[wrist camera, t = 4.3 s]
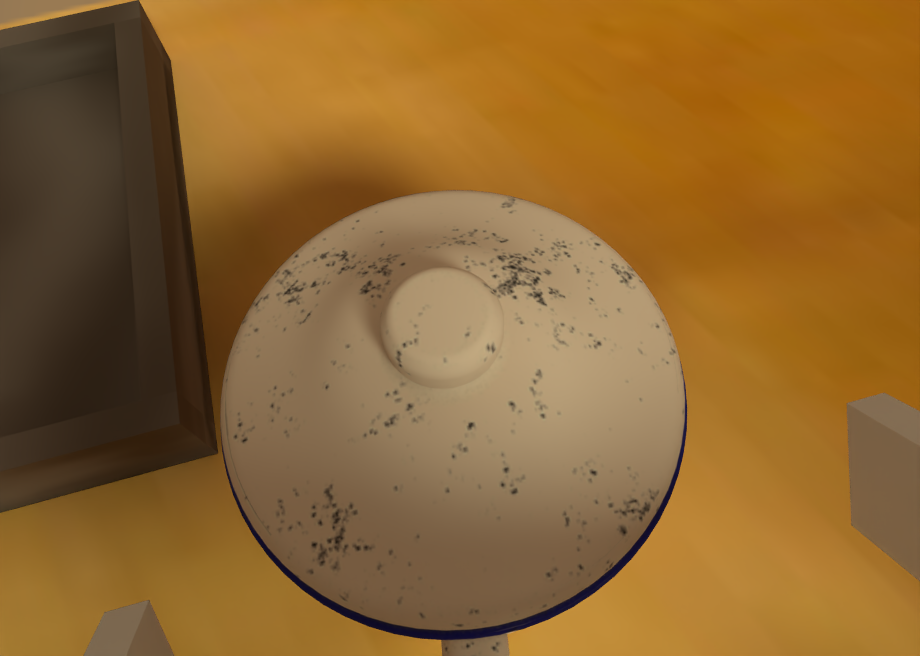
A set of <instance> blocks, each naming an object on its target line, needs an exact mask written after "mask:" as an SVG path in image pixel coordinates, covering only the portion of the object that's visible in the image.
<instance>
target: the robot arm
mask: <svg viewBox="0 0 920 656" xmlns="http://www.w3.org/2000/svg"><path fill="white" fill-rule="evenodd" d="M847 420H848V446H849V473H850V499H851V525H852V526H853V527H855V528H856V529H857V530H858V531H859V532H861V533H862V534H863V535H864V536H865V537H867V538H868V539H869V540H870V541H872V542H873V543H874V544H875V545H876V546H878V547H879V548H880V549H881V550H882V551H884V552H885V553H886V554H887V555H889V556H890V557H891V558H892V559H893V560H895V561H896V562H897V563H898V564H899V565H901V566H902V567H903V568H904V569H906V570H907V571H908V572H909V573H910V574H912V575H913V576H914V577H915V578H916V579H918V580H919V581H920V411H918V410H916V409H914V408H912V407H910V406H908V405H907V404H905V403H903V402H901V401H899V400H897V399H895V398H893V397H891V396H889V395H888V394H886V393H882V394H878V395H875V396H871V397H868V398H864V399H860V400H857V401H853V402H850V403H847ZM84 656H174V654H173V652H172V650H171V647H170V645H169V643H168V641H167V639H166V636H165V634H164V632H163V630H162V628H161V625H160V623H159V621H158V619H157V617H156V614H155V612H154V610H153V608H152V605H151V603H150V601H149V600H147V601H143V602H140V603H136V604H133V605H129V606H126V607H122V608H119V609H115V610H111V611H108V612H105V613H104V615H103V617H102V619H101V621H100V623H99V625H98V627H97V629H96V631H95V633H94V635H93V637H92V639H91V641H90V643H89V646H88V648H87V650H86V652H85V654H84Z"/></svg>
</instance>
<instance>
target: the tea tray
mask: <svg viewBox="0 0 920 656" xmlns="http://www.w3.org/2000/svg"><path fill="white" fill-rule="evenodd" d="M217 453H218V450H217V441H216V433H215V425H214V416H213V408H212V400H211V391H210V383H209V375H208V367H207V358H206V350H205V342H204V333H203V325H202V317H201V308H200V300H199V292H198V284H197V275H196V267H195V259H194V250H193V242H192V234H191V225H190V217H189V209H188V201H187V192H186V184H185V176H184V167H183V159H182V151H181V142H180V134H179V126H178V117H177V109H176V101H175V93H174V84H173V76H172V68H171V60H170V58H169V56H168V54H167V53H166V51H165V49H164V47H163V45H162V43H161V41H160V39H159V38H158V36H157V34H156V32H155V30H154V28H153V26H152V24H151V22H150V21H149V19H148V17H147V15H146V13H145V11H144V9H143V7H142V5H141V4H140V2H139V0H137V1H132V2H128V3H123V4H119V5H114V6H109V7H105V8H100V9H96V10H91V11H86V12H82V13H77V14H73V15H68V16H63V17H59V18H54V19H50V20H45V21H40V22H36V23H31V24H26V25H22V26H17V27H13V28H8V29H3V30H0V513H1V512H4V511H8V510H12V509H15V508H19V507H23V506H26V505H30V504H34V503H37V502H41V501H45V500H48V499H52V498H56V497H59V496H63V495H67V494H70V493H74V492H78V491H81V490H85V489H89V488H92V487H96V486H100V485H103V484H107V483H111V482H114V481H118V480H122V479H125V478H129V477H133V476H136V475H140V474H144V473H147V472H151V471H155V470H158V469H162V468H166V467H169V466H173V465H177V464H180V463H184V462H188V461H191V460H195V459H199V458H202V457H206V456H210V455H213V454H217Z"/></svg>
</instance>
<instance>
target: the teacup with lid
mask: <svg viewBox="0 0 920 656" xmlns="http://www.w3.org/2000/svg"><path fill="white" fill-rule="evenodd" d="M220 423H221V440H222V452H223V457H224V462H225V467H226V473H227V476H228V479H229V483H230V486H231V489H232V492H233V495H234V498H235V500H236V502H237V505H238V507H239V509H240V512H241V514H242V516H243V518H244V520H245V522H246V523H247V525H248V527H249V529H250V530H251V532H252V534H253V536H254V537H255V539H256V540H257V541H258V543H259V544H260V545H261V547H262V548H263V550H264V551H265V552H266V554H267V555H268V556H269V557H270V559H271V560H272V561H273V562H274V563H275V564H276V565H277V566H278V567H279V568H280V570H281V571H282V572H283V573H284V574H285V575H286V576H287V577H289V578H290V579H291V580H292V581H293V582H294V583H295V584H296V585H298V586H299V587H300V588H301V589H302V590H303V591H305V592H306V593H308V594H309V595H310V596H312V597H313V598H315V599H316V600H318V601H319V602H320V603H322V604H323V605H325V606H327V607H329V608H331V609H332V610H334V611H336V612H338V613H340V614H341V615H343V616H345V617H347V618H350V619H352V620H355V621H357V622H359V623H362V624H364V625H367V626H369V627H373V628H376V629H379V630H383V631H386V632H390V633H393V634H398V635H404V636H409V637H415V638H421V639H436V640H441V642H442V656H509V647H508V638H507V634H509V633H512V632H515V631H517V630H521V629H524V628H527V627H530V626H532V625H535V624H538V623H540V622H543V621H546V620H548V619H550V618H552V617H554V616H556V615H558V614H560V613H562V612H564V611H566V610H568V609H570V608H572V607H574V606H575V605H577V604H578V603H580V602H581V601H583V600H584V599H586V598H587V597H589V596H590V595H592V594H593V593H595V592H596V591H597V590H598V589H600V588H601V587H602V586H603V585H605V584H606V583H607V582H608V581H609V580H611V579H612V578H613V577H614V576H615V575H616V574H617V573H618V572H619V571H620V570H621V569H622V568H623V567H624V566H625V565H626V564H627V563H628V562H629V561H630V560H631V559H632V558H633V556H634V555H635V554H636V553H637V551H638V550H639V549H640V548H641V546H642V545H643V544H644V543H645V541H646V540H647V539H648V537H649V535H650V534H651V532H652V531H653V529H654V527H655V526H656V524H657V523H658V521H659V519H660V517H661V515H662V513H663V511H664V509H665V507H666V505H667V503H668V501H669V499H670V497H671V494H672V491H673V488H674V486H675V483H676V480H677V477H678V474H679V470H680V466H681V462H682V458H683V453H684V446H685V439H686V431H687V400H686V389H685V382H684V377H683V371H682V366H681V362H680V359H679V355H678V351H677V348H676V345H675V341H674V338H673V335H672V333H671V330H670V328H669V326H668V323H667V321H666V318H665V316H664V315H663V313H662V311H661V309H660V307H659V305H658V303H657V302H656V300H655V298H654V297H653V295H652V294H651V292H650V291H649V289H648V288H647V286H646V285H645V283H644V282H643V281H642V279H641V278H640V277H639V276H638V275H637V273H636V272H635V271H634V270H633V268H632V267H631V266H630V265H629V264H628V263H627V262H626V261H625V260H624V259H623V258H622V257H621V256H620V255H619V254H618V253H617V252H616V251H615V250H614V249H612V248H611V247H610V246H609V245H608V244H607V243H605V242H604V241H603V240H602V239H601V238H599V237H598V236H596V235H595V234H593V233H592V232H591V231H589V230H588V229H586V228H585V227H583V226H582V225H580V224H578V223H577V222H575V221H573V220H571V219H570V218H568V217H566V216H564V215H562V214H560V213H557V212H555V211H553V210H551V209H549V208H546V207H544V206H541V205H538V204H535V203H533V202H530V201H526V200H523V199H519V198H515V197H512V196H507V195H501V194H496V193H490V192H480V191H464V190H448V191H432V192H425V193H418V194H412V195H407V196H403V197H398V198H394V199H391V200H387V201H384V202H381V203H377V204H375V205H372V206H370V207H367V208H365V209H362V210H359V211H357V212H355V213H353V214H351V215H349V216H347V217H345V218H343V219H341V220H339V221H338V222H336V223H334V224H333V225H331V226H329V227H327V228H326V229H324V230H323V231H321V232H320V233H319V234H317V235H316V236H314V237H313V238H311V239H310V240H309V241H307V242H306V243H305V244H304V245H303V246H302V247H300V248H299V249H298V250H297V251H296V252H294V253H293V254H292V255H291V256H290V257H289V258H288V259H287V260H286V261H285V262H284V263H283V264H282V265H281V266H280V267H279V269H278V270H277V271H276V272H275V273H274V275H273V276H272V277H271V278H270V279H269V281H268V282H267V283H266V284H265V286H264V287H263V288H262V290H261V291H260V293H259V294H258V296H257V297H256V299H255V300H254V302H253V303H252V305H251V307H250V309H249V310H248V312H247V314H246V316H245V318H244V319H243V321H242V324H241V326H240V328H239V330H238V333H237V335H236V337H235V340H234V343H233V346H232V349H231V352H230V355H229V358H228V361H227V366H226V370H225V374H224V379H223V387H222V395H221V415H220Z"/></svg>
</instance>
